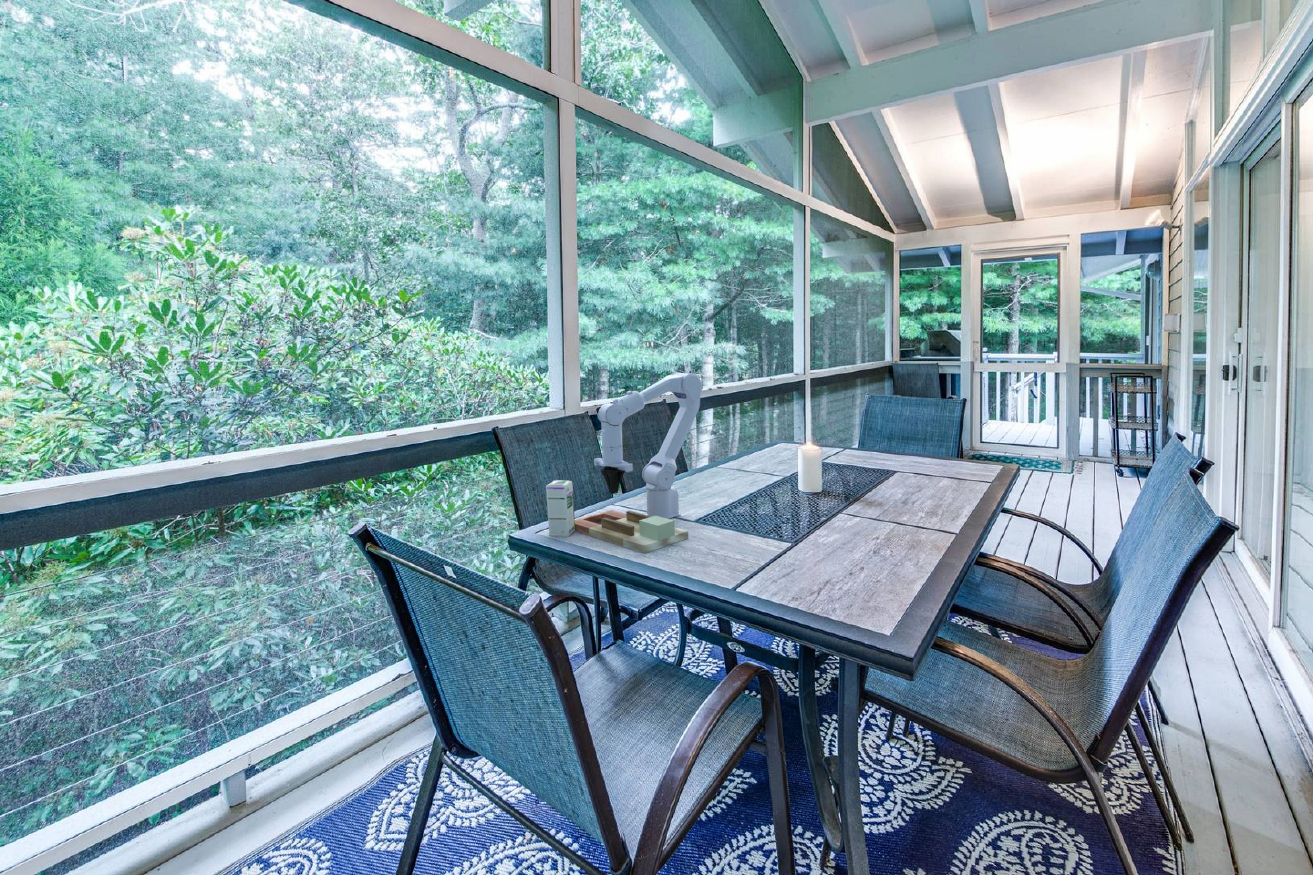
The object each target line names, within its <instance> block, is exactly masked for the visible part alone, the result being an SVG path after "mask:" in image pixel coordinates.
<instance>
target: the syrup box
mask: <svg viewBox="0 0 1313 875" xmlns="http://www.w3.org/2000/svg"><path fill="white" fill-rule="evenodd" d="M573 485H574V484H573V481H572V480H567V479H563V480H562V479H561V480H560V479H559V480H552V482H550V483H549V484H546V485H545V491H546V493H545V494H546V502H547V503H546V506H547V520H548V521H547V522H548V535H549V536H550V537H569V536H571V535H572V534H573V533H574V532H576V531H575V520H576V519H575V505H574V489H573V488H574V487H573Z"/></svg>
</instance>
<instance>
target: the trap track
mask: <svg viewBox="0 0 1313 875" xmlns="http://www.w3.org/2000/svg"><path fill="white" fill-rule="evenodd" d="M644 514H645V513H641V512H637V511H633V510H626V513H623V512H620V511H617V510H613V509H611V510H608V511H603V512H600V513H596V514H593V515H589V516H586V517H581V518H578V519H575V531H574V532H579V533H581V534H585V535H587V536H591V537H594V538H596V539H600V540H603V541H605V540H606V542H609V543H611V544H615V545H619V546H621V547H624V548H626V549H627V548H628V549H630V550H634V551H636V552H638V553H642V554H647V552H648V553H650V552H653V551H656V550H658V549H662V548H665V547H667V546H670V545H673V544H675V543H678V542H682V541H684V540H687V539H689V530H686V529H682V528H678V527H675V535H674V536H671V537H669V538H666V539H663V540H660V541H657V540H654V539H651V538H647V537H644V536H641V535H640V531H639V520H642V519H646V518H649V517H652V516H648V515H644Z"/></svg>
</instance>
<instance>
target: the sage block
mask: <svg viewBox="0 0 1313 875" xmlns="http://www.w3.org/2000/svg"><path fill="white" fill-rule="evenodd" d="M675 522H676V521H675V520H674V519H672V518H669V519H667V518H663V517H659V516H652V517H649V518H646V519H642V520H639V531H640V535H641V536H644V537H647V538H651V539H654V540H657V541H660V540H663V539H666V538H669V537H671V536H674V535H675V528H676V524H675Z"/></svg>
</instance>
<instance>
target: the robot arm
mask: <svg viewBox="0 0 1313 875" xmlns="http://www.w3.org/2000/svg"><path fill="white" fill-rule="evenodd" d="M703 389H704V385H703V384H702V381H701V378H700V377H699V375H698V374H697V373H693V372H692V373H686V372H679V371H676V372H673V373H672V374H668V375H666V376H665V377H664V378H662V379H660V380H659V381H657V382H655V383H653V384H652V385H650V386H649V387H646V388H645V389H643V390H641V391H640V392H639V391H637V390H628V391H626V392H625V393H626V394H625V395H623V396H621V397H619V398H614V399H612V402H611V403H609V402H608V403H607V402H606V403H603V405H601V406H600V408H599V410H598V412H597V414H596V415H597V419H598V420H599V421H600V423H601V425H600V426H601V449H602V450H601V451H602V457H596V458H593V465H594V466H601V467H603V468H602V469H600V473H601V474H602V476H603V477H604V480H605V482H606V484H607V488H608V492H609V494H610V495H615V494H618V493H619V490H620V484H621V481H622V478H623V476H624V474H625V472H626V473H629V472H633V470H634V469H633V468H634V467H633V466H634V465H633V463H629V462H628V461H624V460H623V459H624V458H623V457H624V455H623V454H624V453H623V452H624V451H623V427H622V426H623V423H624V421H625V419H626V418H628V417H630V416H631V415H634V414H635V413H637V412H640V411H642V410H643V409H644V408H645V405H646V403H647V402H649V401H652V400H654V399H657V398H658V397H660V396H662V395H664V394H666V393H671V394H673V396H674V397H675V398H676V400H677V402H678V405H679V408H678V410H677V412H676V415H675V417H674V419H673V421H672V422H671V425H670V427H669V429H668V432H667V434H666V436H665V438H664V440H663V442H662V444H661V446H660V449H659V451H658V453H657V454H655V455H653V457H651V458H650V461H649V463H647V464H646V465H645V466H644V467H643V469H642V472H641V477H642V479H643V481H644V482H645V483H646V484H645V486H646V487H645V489H646V493H645V494H646V513H643V514H644V515H648V516H659V517H663V518H667V519H672V518H676V517H678V516H681V513H680V512H679V511H680V510H679V509H680V508H679V505H680V503H679V500H680V499H679V491H678V490H677V487H676V486H674V485H673V484H674V483H675V479H676V471H677V469H678V467H677V463H676V459H677V457H678V456H679V453H680V450H681V449H682V447H683V445H684V442H685V440H686V438H687V436H688V433H689V431H690V429H691V427H692V425H693V423H694V421H695V418H696V416H697V414H698V412H699V410H700V407H701V393H702V390H703Z"/></svg>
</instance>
